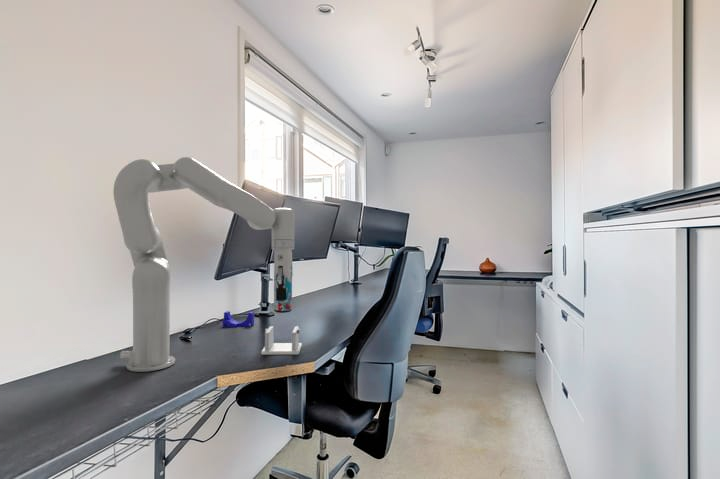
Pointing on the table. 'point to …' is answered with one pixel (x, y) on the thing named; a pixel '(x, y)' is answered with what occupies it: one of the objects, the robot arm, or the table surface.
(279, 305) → the beverage can
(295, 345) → the clip holder
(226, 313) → the cable clip
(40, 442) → the table surface
